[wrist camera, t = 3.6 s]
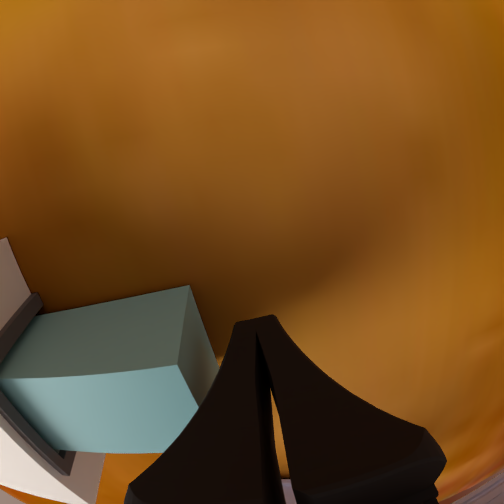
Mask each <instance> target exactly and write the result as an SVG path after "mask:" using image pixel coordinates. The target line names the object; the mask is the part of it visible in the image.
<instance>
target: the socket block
mask: <svg viewBox="0 0 504 504" xmlns="http://www.w3.org/2000/svg"><path fill="white" fill-rule="evenodd" d="M42 306H43V303H42V301H41V299H40V297H39V295H38V292H37V293H33V294H31V293H30V291H29V288H28V286H27V284H26V282H25V280H24V278H23V276H22V273H21V271H20V269H19V266H18V264H17V262H16V259H15V257H14V255H13V252H12V250H11V247H10V245H9V242H8V240H7V237H6V238H4V239H1V240H0V364H1V362H2V361H3V359H4V358H5V356H6V355H7V353H8V352H9V351H10V349H11V348H12V346H13V345H14V343H15V342H16V341H17V339H18V338H19V336H20V335H21V334H22V332H23V331H24V330H25V328H26V327H27V326H28V324H29V323H30V322H31V320H32V319H33V318H34V316H35V315H36V314H37V312H38V311H39V310H40V309H41V307H42ZM105 455H106V453H96V452H80V451H68V450H58V449H52V448H51V447H50V446H49V445H48V444H47V443H46V442H45V441H44V440H43V439H42V438H41V436H40V435H39V434H38V433H37V432H36V431H35V430H34V429H33V428H32V427H31V426H30V425H29V424H28V422H27V421H26V420H25V419H24V418H23V417H22V416H21V415H20V413H19V412H18V411H17V410H16V409H15V407H14V406H13V405H12V404H11V403H10V401H9V400H8V399H7V398H6V396H5V395H4V394H3V392H2V391H1V390H0V485H3V486H6V487H9V488H12V489H15V490H18V491H22V492H25V493H28V494H32V495H36V496H39V497H43V498H47V499H51V500H56V501H60V502H65V503H70V504H95V503H96V498H97V493H98V487H99V483H100V478H101V473H102V468H103V464H104V459H105Z"/></svg>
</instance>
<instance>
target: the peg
mask: <svg viewBox="0 0 504 504" xmlns="http://www.w3.org/2000/svg"><path fill="white" fill-rule="evenodd" d="M218 371H219V365H218V363H217V360H216V358H215V355H214V352H213V350H212V347H211V344H210V341H209V339H208V336H207V333H206V331H205V328H204V325H203V322H202V319H201V317H200V314H199V311H198V308H197V305H196V302H195V299H194V296H193V294H192V291H191V288H190V285H187V286H182V287H178V288H173V289H168V290H163V291H159V292H154V293H149V294H144V295H139V296H135V297H130V298H125V299H120V300H115V301H110V302H105V303H100V304H95V305H90V306H85V307H80V308H75V309H70V310H65V311H59V312H54V313H49V314H44V315H38V316H34V318H33V319H32V320H31V322H30V323H29V324H28V326H27V327H26V328H25V330H24V331H23V332H22V334H21V335H20V336H19V338H18V339H17V341H16V342H15V343H14V345H13V346H12V348H11V349H10V351H9V352H8V353H7V355H6V356H5V358H4V359H3V361H2V362H1V364H0V390H1V391H2V392H3V394H4V395H5V396H6V398H7V399H8V400H9V401H10V403H11V404H12V405H13V406H14V407H15V409H16V410H17V411H18V412H19V413H20V415H21V416H22V417H23V418H24V419H25V420H26V421H27V422H28V424H29V425H30V426H31V427H32V428H33V429H34V430H35V431H36V432H37V433H38V434H39V435H40V436H41V438H42V439H43V440H44V441H45V442H46V443H47V444H48V445H49V446H50V447H51V448H52V449H58V450H68V451H80V452H96V453H164V451H165V450H166V449H167V448H168V447H169V446H170V445H171V444H172V443H173V441H174V440H175V439H176V438H177V437H178V436H179V435H180V433H181V432H182V431H183V429H184V428H185V427H186V425H187V424H188V423H189V421H190V420H191V418H192V417H193V416H194V414H195V413H196V411H197V410H198V408H199V406H200V405H201V403H202V402H203V400H204V398H205V397H206V395H207V393H208V391H209V389H210V387H211V385H212V383H213V381H214V379H215V377H216V375H217V373H218Z"/></svg>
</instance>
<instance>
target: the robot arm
mask: <svg viewBox="0 0 504 504" xmlns="http://www.w3.org/2000/svg"><path fill="white" fill-rule="evenodd" d="M270 388H271V391H272V395H273V398H274V401H275V404H276V407H277V411H278V414H279V418H280V423H281V428H282V434H283V440H284V445H285V451H286V457H287V462H288V468H289V474H290V479H281V476H280V470H279V465H278V460H277V455H276V448H275V440H274V427H273V415H272V403H271V391H270ZM446 462H447V460H446V457H445V455H444V453H443V451H442V449H441V448H440V446H439V445H438V443H437V442H436V441H435V439H434V438H433V437H432V436H431V435H430V433H429V432H428V431H427V430H426V429H425V428H423V427H421V426H418V425H415V424H412V423H410V422H407V421H405V420H402V419H400V418H397V417H395V416H393V415H391V414H389V413H387V412H384V411H382V410H380V409H378V408H376V407H375V406H373V405H371V404H369V403H368V402H366V401H364V400H363V399H361V398H359V397H357V396H356V395H354V394H352V393H351V392H349V391H348V390H347V389H345V388H344V387H342V386H341V385H339V384H338V383H337V382H335V381H334V380H333V379H332V378H330V377H329V376H328V375H327V374H325V373H324V372H323V371H322V370H321V369H320V368H319V367H317V366H316V365H315V364H314V363H313V362H312V361H311V360H310V359H309V358H308V357H307V356H306V355H305V354H304V353H303V352H302V351H301V350H300V348H299V347H298V346H297V345H296V344H295V343H294V342H293V340H292V339H291V338H290V337H289V335H288V334H287V333H286V332H285V330H284V329H283V327H282V326H281V324H280V322H279V321H278V319H277V317H276V316H275V315H268V316H263V317H259V318H254V319H250V320H245V321H240V322H236V323H235V325H234V327H233V332H232V336H231V339H230V342H229V345H228V348H227V351H226V354H225V356H224V359H223V361H222V364H221V366H220V369H219V371H218V373H217V375H216V377H215V379H214V381H213V383H212V385H211V387H210V389H209V391H208V393H207V395H206V397H205V398H204V400H203V402H202V403H201V405H200V406H199V408H198V410H197V411H196V413H195V414H194V416H193V417H192V418H191V420H190V421H189V423H188V424H187V425H186V427H185V428H184V429H183V431H182V432H181V433H180V435H179V436H178V437H177V438H176V439H175V440H174V441H173V443H172V444H171V445H170V446H169V447H168V448H167V449H166V450H165V451H164V453H163V454H162V455H161V456H160V457H159V458H158V459H157V460H156V461H155V462H154V463H153V464H152V465H151V466H149V467H148V468H147V469H146V470H145V471H144V472H143V473H142V474H140V475H139V476H138V477H137V478H136V479H135V480H133V481H132V482H131V483H130V484H129V485H128V490H127V493H126V496H125V500H124V504H439V503H438V501H437V499H436V497H437V496H438V491H437V489H436V487H435V484H434V483H435V481H436V480H437V478H438V477H439V475H440V474H441V472H442V471H443V469H444V467H445V465H446ZM451 504H504V472H502V473H500V474H499V475H497V476H496V477H494V478H493V479H491V480H490V481H488V482H487V483H485V484H484V485H482V486H480V487H479V488H477V489H476V490H474V491H472V492H471V493H469V494H467V495H466V496H464V497H462V498H460V499H458V500H457V501H455V502H453V503H451Z"/></svg>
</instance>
